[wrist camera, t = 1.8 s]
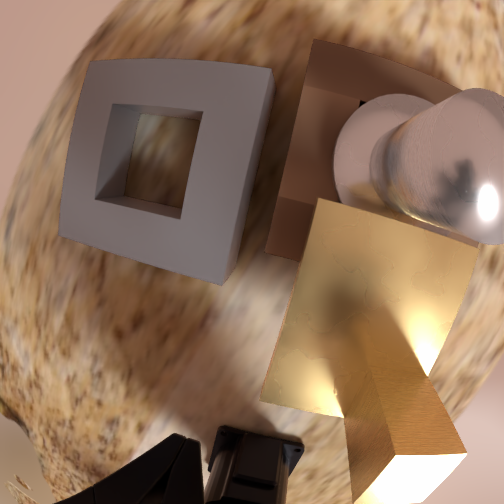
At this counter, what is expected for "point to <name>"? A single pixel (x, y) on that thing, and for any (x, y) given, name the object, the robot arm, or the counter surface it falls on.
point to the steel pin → (427, 162)
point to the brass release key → (374, 346)
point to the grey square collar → (201, 172)
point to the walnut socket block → (335, 131)
